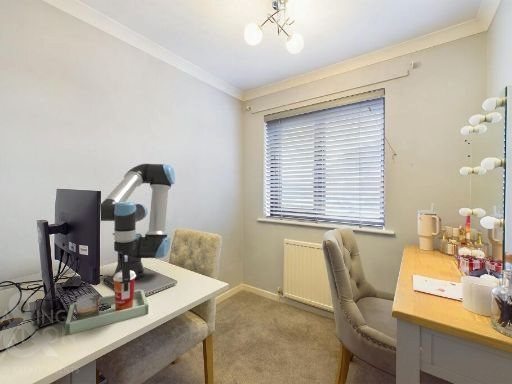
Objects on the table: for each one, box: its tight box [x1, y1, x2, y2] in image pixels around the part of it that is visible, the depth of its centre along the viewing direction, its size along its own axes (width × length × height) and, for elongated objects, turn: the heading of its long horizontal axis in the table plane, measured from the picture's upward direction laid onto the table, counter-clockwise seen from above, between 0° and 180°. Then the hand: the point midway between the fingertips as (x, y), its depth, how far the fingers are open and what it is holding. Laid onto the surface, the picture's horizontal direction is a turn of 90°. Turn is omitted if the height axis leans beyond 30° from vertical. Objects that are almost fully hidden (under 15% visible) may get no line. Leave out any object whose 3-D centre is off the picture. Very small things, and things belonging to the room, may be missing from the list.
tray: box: [64, 288, 149, 336], centre depth 93 cm, size 16×26×4 cm, turn 123°
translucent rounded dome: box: [76, 292, 100, 321], centre depth 89 cm, size 7×7×8 cm
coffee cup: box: [112, 271, 136, 311], centre depth 95 cm, size 8×8×15 cm
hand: (124, 291), depth 95 cm, fingers open, 13 cm apart
